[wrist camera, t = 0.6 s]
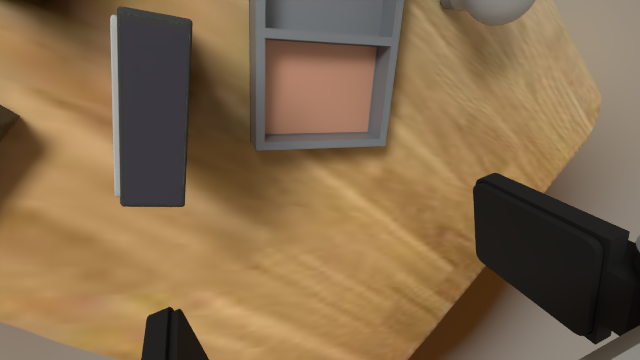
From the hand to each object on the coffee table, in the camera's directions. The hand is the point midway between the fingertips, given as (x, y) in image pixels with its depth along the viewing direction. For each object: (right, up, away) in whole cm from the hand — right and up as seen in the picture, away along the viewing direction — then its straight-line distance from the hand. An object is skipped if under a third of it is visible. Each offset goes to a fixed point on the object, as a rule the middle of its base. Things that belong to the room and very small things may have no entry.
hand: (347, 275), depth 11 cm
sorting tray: (-1, +17, +25) cm, 31 cm away
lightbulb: (+13, +23, +28) cm, 39 cm away
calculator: (-15, +12, +22) cm, 30 cm away
